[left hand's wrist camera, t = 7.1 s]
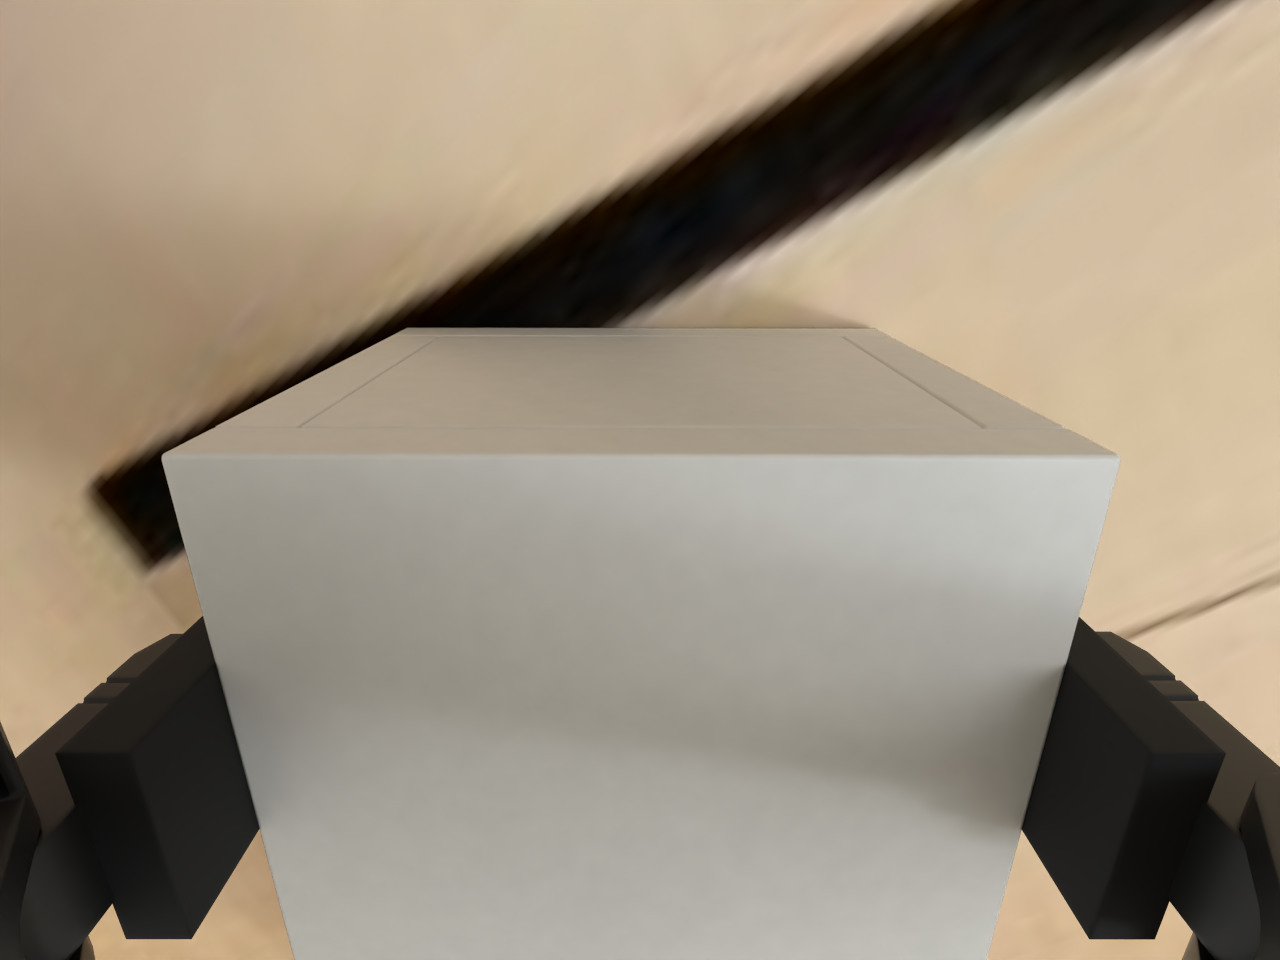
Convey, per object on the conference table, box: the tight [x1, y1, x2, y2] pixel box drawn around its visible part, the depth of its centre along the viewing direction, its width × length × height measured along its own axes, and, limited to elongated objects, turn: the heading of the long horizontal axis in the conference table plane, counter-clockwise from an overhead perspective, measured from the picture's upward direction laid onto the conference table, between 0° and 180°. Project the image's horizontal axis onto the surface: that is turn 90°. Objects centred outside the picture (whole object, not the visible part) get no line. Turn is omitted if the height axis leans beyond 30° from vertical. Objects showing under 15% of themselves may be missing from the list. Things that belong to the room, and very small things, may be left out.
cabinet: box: [162, 328, 1121, 960], centre depth 15 cm, size 20×10×8 cm, turn 0°
